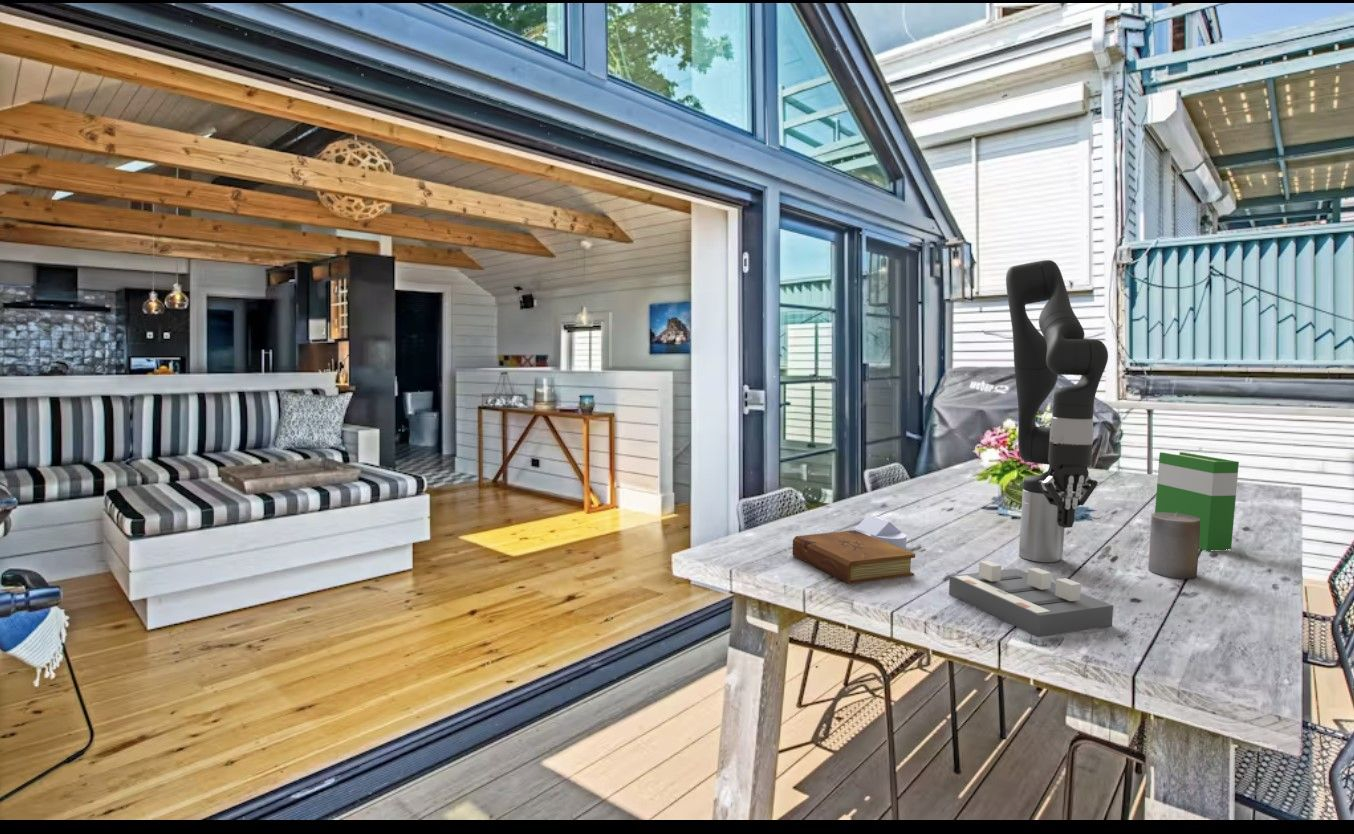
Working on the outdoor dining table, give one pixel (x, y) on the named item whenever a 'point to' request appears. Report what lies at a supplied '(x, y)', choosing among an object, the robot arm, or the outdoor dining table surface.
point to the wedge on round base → (883, 531)
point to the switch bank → (1030, 604)
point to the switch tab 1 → (989, 571)
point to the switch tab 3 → (1068, 589)
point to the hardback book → (1200, 494)
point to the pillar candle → (1174, 545)
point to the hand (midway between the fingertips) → (1065, 526)
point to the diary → (853, 556)
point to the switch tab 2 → (1039, 578)
